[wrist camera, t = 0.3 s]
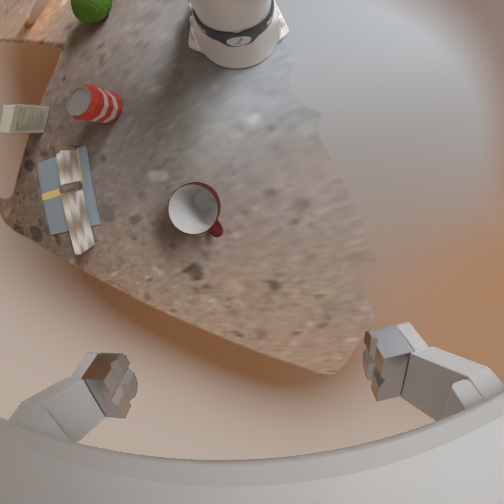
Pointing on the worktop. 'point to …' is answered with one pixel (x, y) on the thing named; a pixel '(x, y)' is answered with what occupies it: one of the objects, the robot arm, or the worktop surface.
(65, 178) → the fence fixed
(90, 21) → the fruit
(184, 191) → the mug
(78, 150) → the card
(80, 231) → the fence panel
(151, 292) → the worktop surface
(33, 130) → the skincare box
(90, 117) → the beverage can
